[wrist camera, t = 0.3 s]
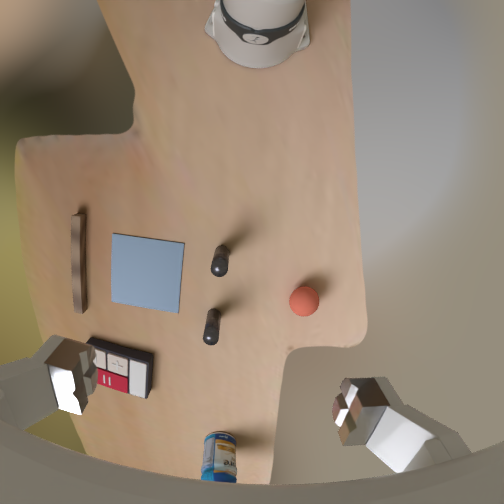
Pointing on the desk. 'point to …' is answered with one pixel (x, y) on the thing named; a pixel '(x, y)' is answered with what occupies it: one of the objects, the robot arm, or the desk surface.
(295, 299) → the ball
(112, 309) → the desk surface
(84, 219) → the wall
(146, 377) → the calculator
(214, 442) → the beverage bottle
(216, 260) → the inner post
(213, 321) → the outer post
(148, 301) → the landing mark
